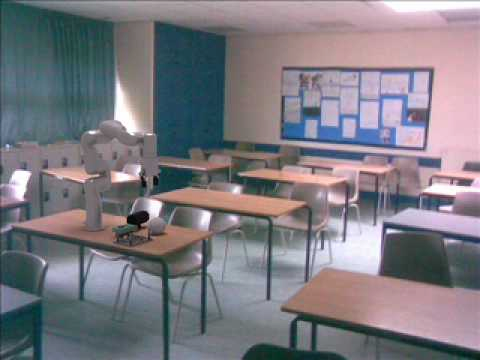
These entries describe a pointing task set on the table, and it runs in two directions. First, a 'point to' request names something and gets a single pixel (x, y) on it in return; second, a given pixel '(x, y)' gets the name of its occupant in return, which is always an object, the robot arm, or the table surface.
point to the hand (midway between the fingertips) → (149, 186)
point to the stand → (124, 234)
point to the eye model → (157, 225)
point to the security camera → (138, 218)
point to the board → (124, 228)
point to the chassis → (133, 239)
